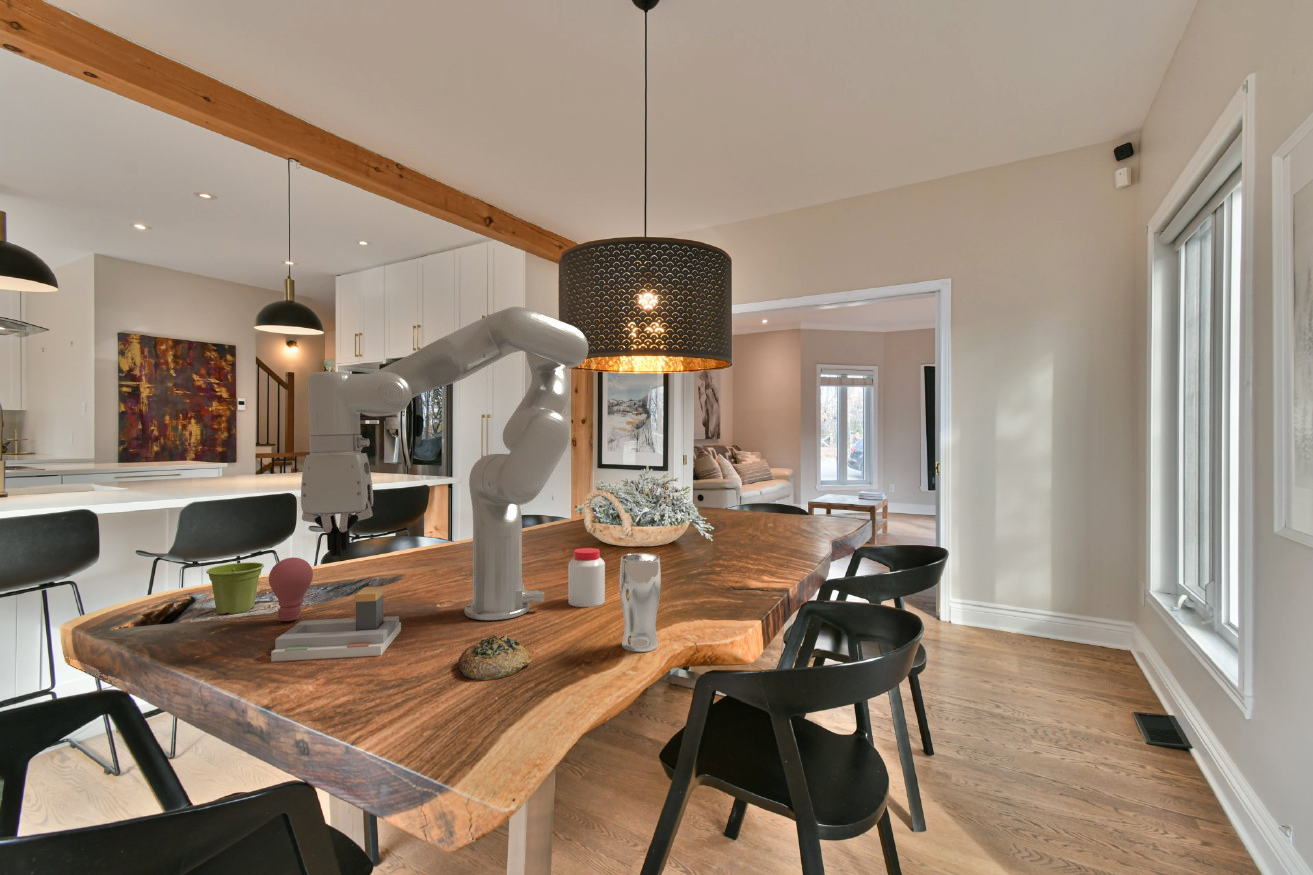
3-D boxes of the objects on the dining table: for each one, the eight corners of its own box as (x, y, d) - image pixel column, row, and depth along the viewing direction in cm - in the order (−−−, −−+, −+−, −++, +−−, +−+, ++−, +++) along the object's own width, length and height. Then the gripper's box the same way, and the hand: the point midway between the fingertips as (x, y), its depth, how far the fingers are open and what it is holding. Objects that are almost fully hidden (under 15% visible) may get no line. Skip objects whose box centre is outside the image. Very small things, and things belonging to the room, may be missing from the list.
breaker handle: (384, 627, 100) (384, 586, 100) (375, 637, 96) (375, 593, 96) (364, 628, 100) (364, 587, 100) (354, 638, 95) (354, 594, 95)
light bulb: (321, 615, 113) (321, 554, 113) (295, 627, 105) (295, 562, 105) (287, 614, 113) (287, 553, 113) (259, 626, 106) (259, 561, 106)
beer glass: (629, 656, 92) (630, 562, 92) (612, 642, 99) (613, 554, 98) (668, 649, 96) (668, 558, 96) (649, 636, 102) (649, 551, 102)
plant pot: (272, 608, 117) (272, 565, 117) (218, 620, 109) (218, 575, 109) (251, 601, 122) (251, 560, 122) (197, 612, 114) (197, 568, 114)
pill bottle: (589, 609, 117) (589, 555, 117) (560, 603, 121) (560, 551, 121) (612, 600, 124) (612, 549, 124) (584, 595, 128) (584, 545, 128)
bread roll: (471, 651, 94) (475, 621, 94) (537, 661, 94) (541, 631, 94) (443, 682, 83) (447, 649, 83) (518, 694, 83) (523, 661, 83)
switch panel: (401, 630, 104) (401, 613, 104) (380, 655, 92) (380, 636, 92) (304, 635, 102) (304, 618, 102) (271, 661, 90) (271, 642, 90)
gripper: (389, 444, 102) (392, 547, 102) (297, 446, 99) (300, 552, 100) (376, 445, 94) (379, 557, 95) (276, 448, 92) (279, 562, 92)
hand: (339, 554), depth 97 cm, fingers closed
